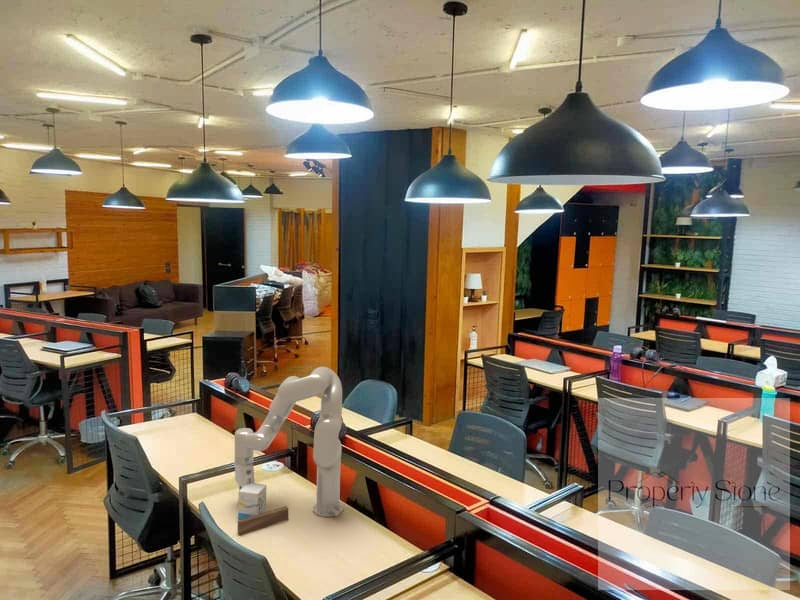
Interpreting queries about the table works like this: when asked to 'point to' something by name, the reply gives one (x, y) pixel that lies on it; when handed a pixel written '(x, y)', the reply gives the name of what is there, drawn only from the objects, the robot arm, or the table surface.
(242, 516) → the ink box
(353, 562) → the table surface
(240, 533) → the board
